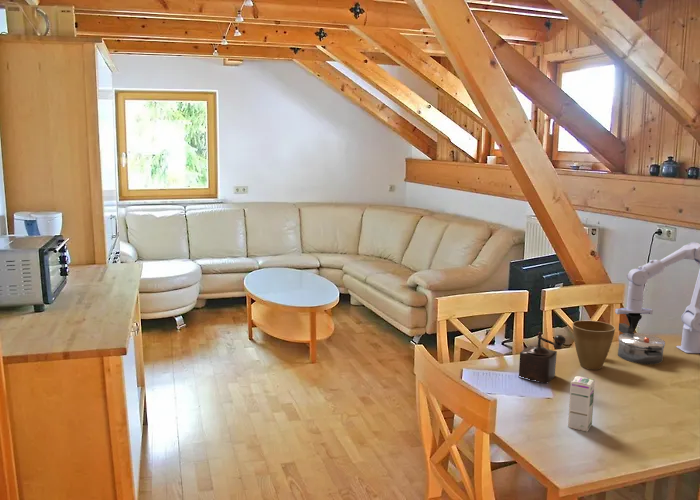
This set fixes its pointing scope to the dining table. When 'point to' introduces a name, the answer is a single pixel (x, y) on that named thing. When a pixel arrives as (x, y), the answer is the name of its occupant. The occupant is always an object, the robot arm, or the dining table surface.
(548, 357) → the manual coffee grinder
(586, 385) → the syrup box
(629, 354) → the clear plastic food container
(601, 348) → the plant pot
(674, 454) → the dining table surface
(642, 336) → the lid
